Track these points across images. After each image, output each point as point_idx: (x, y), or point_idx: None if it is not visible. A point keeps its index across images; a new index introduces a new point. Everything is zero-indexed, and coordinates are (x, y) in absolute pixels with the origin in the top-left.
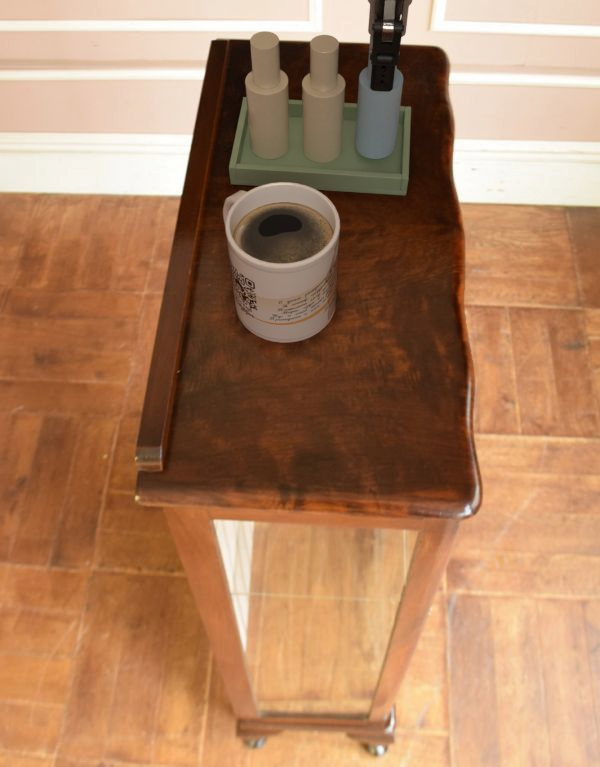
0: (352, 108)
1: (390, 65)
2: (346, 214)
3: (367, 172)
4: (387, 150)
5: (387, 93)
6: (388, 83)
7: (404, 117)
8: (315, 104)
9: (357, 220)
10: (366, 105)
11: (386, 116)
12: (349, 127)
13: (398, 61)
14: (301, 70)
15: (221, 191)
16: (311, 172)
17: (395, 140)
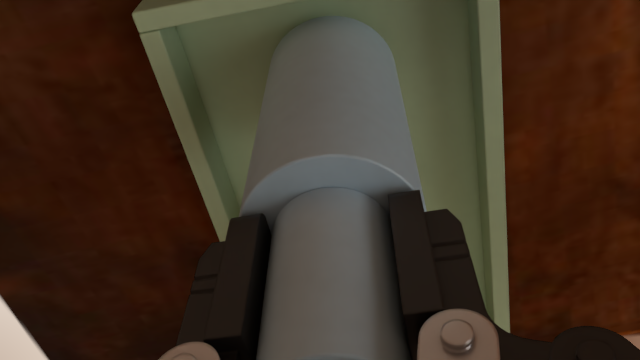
0: (213, 174)
1: (485, 311)
2: (575, 74)
3: (485, 76)
4: (377, 41)
5: (420, 192)
6: (462, 236)
7: (192, 22)
8: None
9: (597, 41)
10: None
11: (404, 125)
12: (251, 150)
13: (604, 345)
14: (82, 287)
15: (521, 324)
16: (505, 210)
17: (340, 30)
